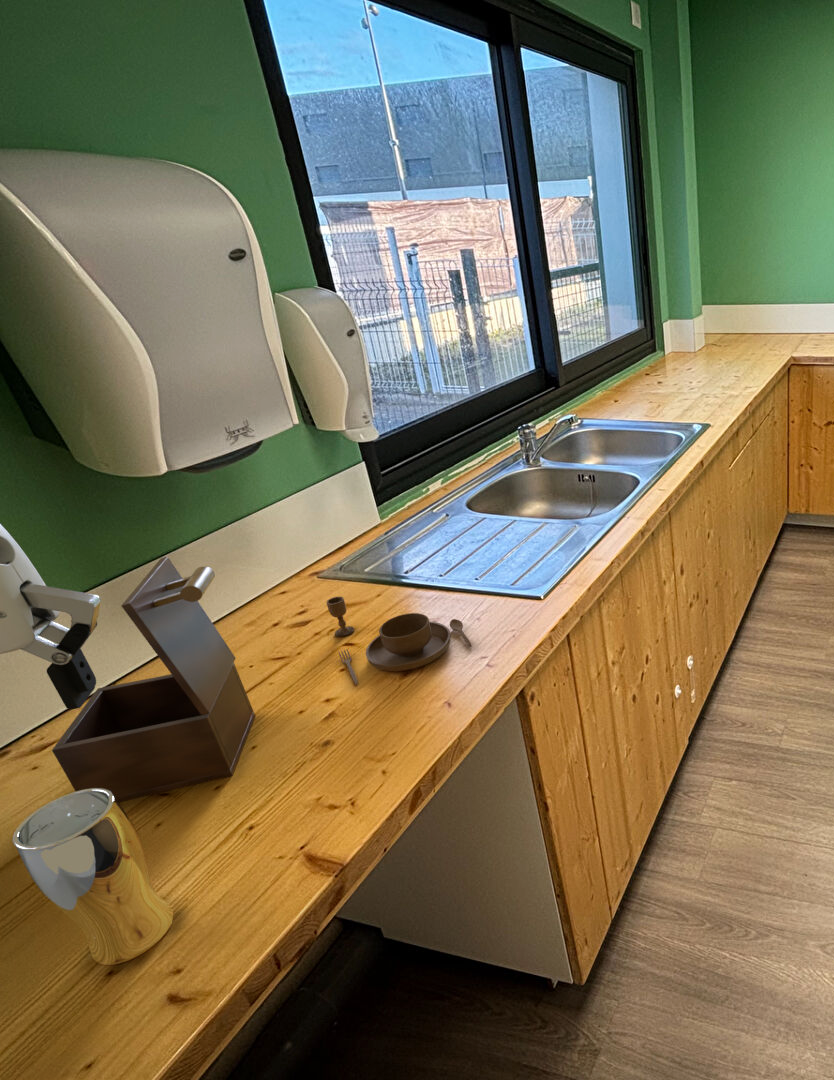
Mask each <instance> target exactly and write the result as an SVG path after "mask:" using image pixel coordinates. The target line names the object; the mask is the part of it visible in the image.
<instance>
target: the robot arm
mask: <svg viewBox="0 0 834 1080" xmlns="http://www.w3.org/2000/svg"><path fill="white" fill-rule="evenodd" d="M39 573H40V572H39V571H38V570H37V569H36V567H35V565H33V563H32V561H31V560H30V559H29V556H27V554H26V553H25V551H24V550H23V549H22V548H21V546H20V545H19V544H18V542H17V541H16V540H15V539H14V537H13V536H12V535H11V534H10V533H9V531H8V530H7V529H6V528H5V527H4V526H3V524H1V523H0V655H3V654H8V653H13V652H16V651H19V650H22V651H24V652H26V653H28V654H31V655H33V656H35V657H38V658H40V659H42V660H45V661H47V662H50V665H49V666H48V667H47V668H46V674H47V676H48V678H49V679H50V681H51V683H52V685H53V687H54V688H55V690H56V692H57V694H58V695H59V697H60V699H61V701H62V703H63V704H64V706H65V708H66V709H69V710H76V709H80V708H82V707H83V705H84V703H85V702H86V701H87V699H88V698H89V697H90V695H92V694H93V692H94V690H95V688H96V685H97V678H96V675H95V673H94V671H93V669H92V667H91V666H90V664H89V662H88V660H87V658H86V656H85V654H84V652H83V650H82V647H83V646H84V645H85V643H87V641H88V639H89V637H90V636H91V635H92V633H93V632H94V630H96V628H97V626H98V621H97V620H98V618H99V614H100V609H101V603H102V599H101V597H100V596H99V595H97V594H93V593H88V592H82V591H77V590H70V589H65V588H59V587H54V586H47V584H46V583H45V581H44V580H43V578H42V577H41V575H40V574H39ZM61 612H62V613H66V614H69V616H70V618H71V620H70V622H71V623H70V628H68V627H66V626H64V625H62V624H59V623H58V622H55V621H56V620H57V618H58V617H59V616H60V613H61Z"/></svg>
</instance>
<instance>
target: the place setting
mask: <svg viewBox="0 0 834 1080" xmlns="http://www.w3.org/2000/svg"><path fill="white" fill-rule="evenodd" d="M325 603H326V607H327V609H328V612H329V614H330V615H331V616H332V617H333V618H336V619H337V620H338V623H337V625H338V626H339V627H340V628H338V629H336V631H335V632H334V636H335V637H337V638H343V637H347V636H349V635H350V636H351V634H353V633H354V632H355V627H353V626H347V622H346V620H345V619H344V616H345V615H346V614H347V605H346V602H345V599H344V597H343V596H334V597H331V598H329V599H327V600H326V602H325ZM463 626H464V625H463V622H462V621H461V620H459V619H457V618H452V619H451V620H450V622H449V627H450V629H452V630H453V631H457V632H458V633H459V634H460V636H461V637H462V639H463V641H464V642H465V644H466V645H467V646H468V647H470V648H471V647H472V645H473V644H472V642H471V641H470V639H469V638H468V637H467V635H466V633H464V631H463ZM449 627H448V626H446V625H445V624H443V623H440V622H437V621H431V620H430V619H429V617H428V616H427V615H425V614H423V613H419V612H412V613H411V612H410V613H403V614H400V615H396V616H394V617H391V618H390V619H388V620H386V621H385V622H383V623H382V624H381V626H379V629H378V633H379V635H377V636H376V637H374V639H373V640H371V641H370V642H369V644H368V645H367V647H366V648H365V656H366V659H367V661H368V663H369V664H370V665H371V666H372V667H374V668H375V669H378V670H381V671H386V672H404V671H410V670H414V669H417V668H420V667H423V666H425V665H428V664H430V663H431V662H433V661H435V660H437V659H438V658H439V657H440V656H442V655H443V654H444V653H445V652H446V651H447V650H448V648H449V647H450V644H451V640H452V635H451V631H450V629H449ZM340 652H341V653H340ZM338 656H339V658H340V661H341V662H342V664H346V666H347V667H346V668H347V669H348V672H349V674H350V677H351V678H352V681H353V683H354V685H355V686H357V685H359V681H358V678H357V675H356V673H355V671H354V669H353V666H352V665H351V662H352V657H351V654H350V651H349V650H348V649H346V650H345V649H343V650H342V649H341V650H340V651H338Z"/></svg>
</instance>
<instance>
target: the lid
mask: <svg viewBox="0 0 834 1080" xmlns="http://www.w3.org/2000/svg"><path fill="white" fill-rule="evenodd" d="M215 577H216V573H215V571H214V569H212V568H211V567H209V566H199V567H197V568H196V569H195V570H194V571H193V573H192V574H191V575H189V576H186V577H182V576H181V574H180V572H179V571H178V570H177V568H176V567H175V565H174V564H173V562H172V561H171V559H170V557H169V556H165V557H161V558H160V559H159V560H158V561H157V562H156V564H155V565H153V566H152V568H151V569H150V571H149V572H148V573H147V574H146V576H145V577H144V578H143V579H142V580H141V581H140V583H139V584H138V585H137V586H136V587H135V588H134V590H133V591H132V592H131V593H130V594H129V596H128V597H127V598H126V599H125V600H124V601H123V603H122V604H121V608H122V609H123V611H124V612H125V613H126V614H127V616H128V617H129V618H130V620H131V621H132V622H133V624H134V625H135V627H136V628H137V630H138V631H139V632H140V634H141V635H142V636H143V638H144V639H145V640H146V642H147V643H148V645H149V646H150V647H151V648H152V650H153V651H154V652H155V654H156V655H157V657H158V658H159V659H160V661H161V662H162V663H163V665H164V666H165V667H166V669H167V670H168V672H169V673H170V674H172V675H173V677H174V678H175V680H176V681H177V682H178V684H179V685H180V686H181V688H182V689H183V690H184V692H185V693H186V694H187V696H188V697H189V699H190V700H191V701H192V703H193V704H194V705H195V707H196V708H197V709H198V711H199V712H200V713H201V715H205V714H208V713H209V712H210V710H211V708H212V706H213V704H214V702H215V700H216V698H217V696H218V694H219V692H220V690H221V688H222V685H223V683H224V681H225V679H226V677H227V675H228V673H229V671H230V669H231V667H232V665H233V663H234V664H235V661H236V656H235V655H234V653H233V652H232V649H230V647H229V645H228V644H227V643H226V641H225V640H224V638H223V636H222V635H221V633H220V632H219V631H218V629H217V627H216V626H215V625H214V623H213V622H212V620H211V619H210V617H209V616H208V614H207V613H206V611H205V610H204V608H203V606H202V605H201V604H200V602H199V601H200V600H201V599H202V598H203V596H204V595H205V593H206V592H207V590H208V588H209V587H210V586H211V584H212V583H213V581H214V579H215Z"/></svg>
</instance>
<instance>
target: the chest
mask: <svg viewBox="0 0 834 1080" xmlns="http://www.w3.org/2000/svg"><path fill="white" fill-rule="evenodd" d="M255 719H256V714H255V711H254V708H253V707H252V704H251V702H250V699H249V696H248V694H247V692H246V689H245V687H244V684H243V681H242V679H241V677H240V673H239V672H238V670H237V667H236V665H235V662H234V663H233V665H232V667H231V669H230V671H229V673H228V675H227V677H226V679H225V681H224V683H223V685H222V688H221V690H220V692H219V694H218V696H217V698H216V700H215V702H214V704H213V706H212V708H211V710H210V712H209V713H208V714H205V715H201V713H200V712H199V711H198V709H197V708H196V707H195V705H194V704H193V703H192V701H191V700H190V699H189V697H188V696H187V694H186V693H185V692H184V690H183V689H182V688H181V686H180V685H179V684H178V682H177V681H176V680H175V678H174V677H173V675H172V674H171V673H170V674H165V675H160V676H155V677H150V678H144V679H140V680H135V681H130V682H124V683H119V684H118V683H117V684H114V685H113V684H112V685H108V686H103V687H98V688H97V689H96V690H95V692H94V693H92V694H91V697H90V698H89V700H88V701H87V702H86V703H85V705H84V706H83V707H82V708H81V710H80V711H79V713H78V714H77V715H76V717H75V718H74V720H72V722H71V723H70V725H69V726H68V727H67V729H66V730H65V732H63V734H62V736H61V737H60V738H59V740H58V741H57V742H56V743H55V746H54V747H53V748H52V749H51V751H52V753H53V755H54V757H55V758H56V760H57V762H58V764H59V765H60V767H61V769H62V772H64V774H65V776H66V778H67V779H68V781H69V783H70V785H71V786H72V788H73V790H74V792H76V791H80V790H84V789H90V788H102V789H106V790H109V791H110V792H112V794H113V796H114V798H115V799H116V800H117V802H118V803H121V802H126V801H130V800H133V799H138V798H142V797H147V796H152V795H155V794H160V793H164V792H168V791H173V790H177V789H182V788H187V787H190V786H194V785H199V784H203V783H207V782H211V781H216V780H219V779H224V778H229V777H233V775H234V773H235V771H236V767H237V766H238V763H239V760H240V758H241V755H242V752H243V750H244V747H245V745H246V742H247V739H248V737H249V734H250V732H251V729H252V727H253V725H254V721H255Z"/></svg>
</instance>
